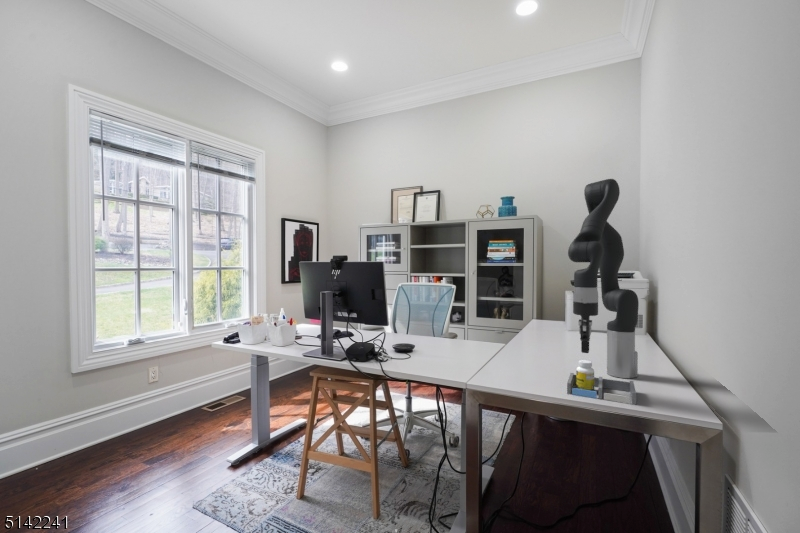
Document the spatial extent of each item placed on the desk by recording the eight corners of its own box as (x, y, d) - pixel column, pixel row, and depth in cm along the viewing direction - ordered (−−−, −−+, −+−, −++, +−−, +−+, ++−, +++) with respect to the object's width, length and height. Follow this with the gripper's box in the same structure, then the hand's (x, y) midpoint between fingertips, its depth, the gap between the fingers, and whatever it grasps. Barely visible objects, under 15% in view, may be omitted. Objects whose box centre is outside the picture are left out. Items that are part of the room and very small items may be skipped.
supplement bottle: (572, 387, 124) (573, 359, 124) (587, 387, 124) (588, 359, 124) (582, 393, 119) (582, 363, 119) (597, 392, 119) (597, 363, 119)
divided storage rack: (633, 391, 120) (633, 381, 120) (636, 404, 109) (636, 393, 109) (570, 382, 130) (570, 372, 130) (567, 393, 118) (567, 382, 118)
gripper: (574, 298, 129) (574, 346, 129) (571, 301, 117) (571, 354, 117) (598, 299, 126) (598, 349, 126) (597, 303, 114) (597, 357, 114)
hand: (585, 351), depth 121 cm, fingers closed
